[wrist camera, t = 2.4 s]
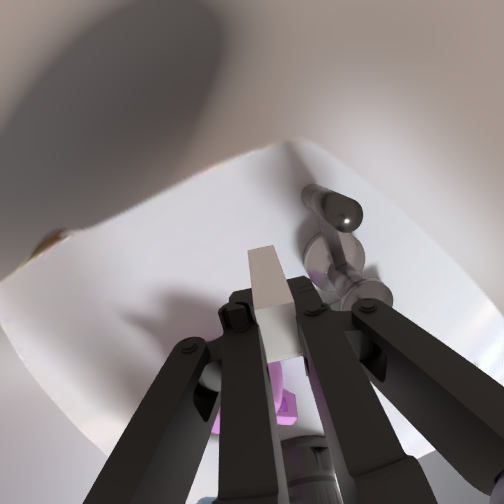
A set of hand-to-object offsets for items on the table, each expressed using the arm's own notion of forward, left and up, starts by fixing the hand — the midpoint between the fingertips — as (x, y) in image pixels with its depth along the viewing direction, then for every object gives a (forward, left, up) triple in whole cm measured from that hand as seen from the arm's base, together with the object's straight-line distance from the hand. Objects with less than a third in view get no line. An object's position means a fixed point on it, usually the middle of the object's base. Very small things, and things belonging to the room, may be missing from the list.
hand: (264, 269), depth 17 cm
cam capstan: (-5, -7, -15) cm, 17 cm away
